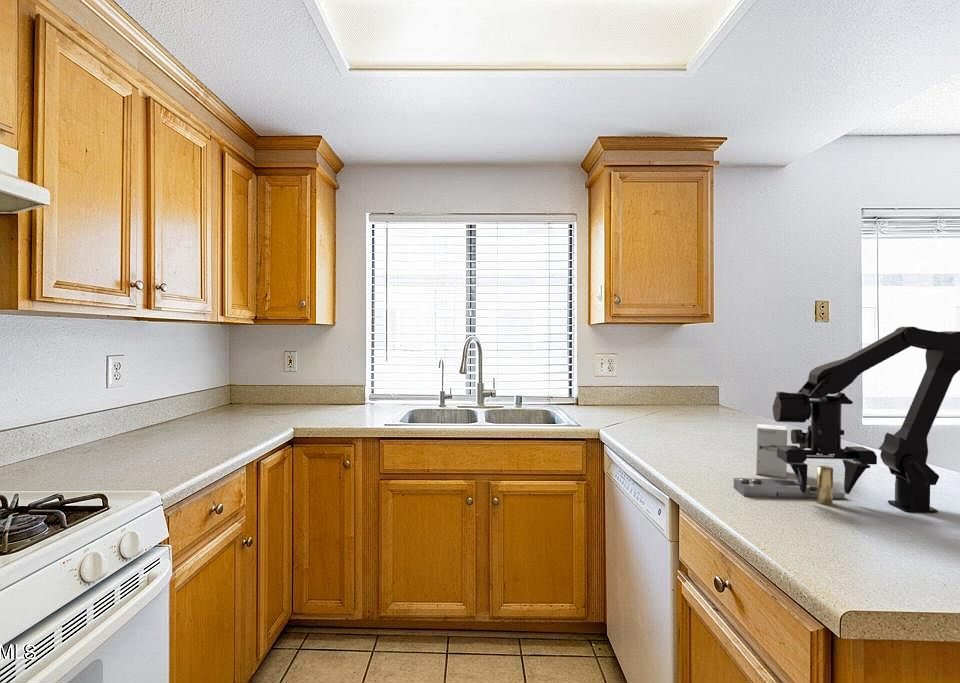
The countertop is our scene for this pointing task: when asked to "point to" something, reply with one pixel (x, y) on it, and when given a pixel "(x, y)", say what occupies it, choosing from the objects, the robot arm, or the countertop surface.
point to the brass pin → (825, 485)
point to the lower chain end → (812, 494)
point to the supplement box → (770, 450)
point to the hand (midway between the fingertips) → (824, 493)
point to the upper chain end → (766, 486)
